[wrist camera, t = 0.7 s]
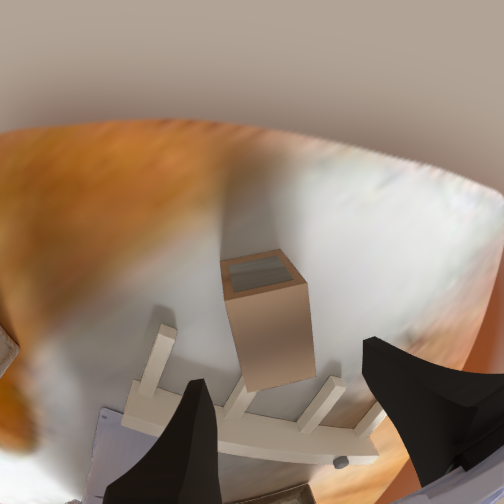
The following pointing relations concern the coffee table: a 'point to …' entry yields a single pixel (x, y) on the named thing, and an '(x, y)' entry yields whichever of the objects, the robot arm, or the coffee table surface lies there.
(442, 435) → the robot arm
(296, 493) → the picture frame
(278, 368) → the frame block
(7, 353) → the decorative jar
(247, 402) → the cream pronged rack
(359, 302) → the coffee table surface
